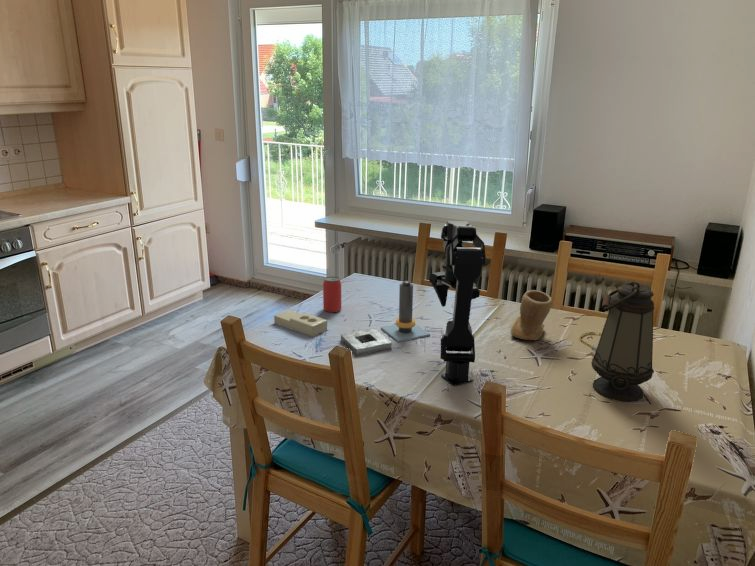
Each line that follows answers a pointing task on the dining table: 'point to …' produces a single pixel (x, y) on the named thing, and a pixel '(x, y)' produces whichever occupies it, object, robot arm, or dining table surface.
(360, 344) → the socket block
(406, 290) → the plug
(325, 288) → the beer can
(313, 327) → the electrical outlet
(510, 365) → the dining table surface
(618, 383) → the lantern
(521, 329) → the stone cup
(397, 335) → the mat
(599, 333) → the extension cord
